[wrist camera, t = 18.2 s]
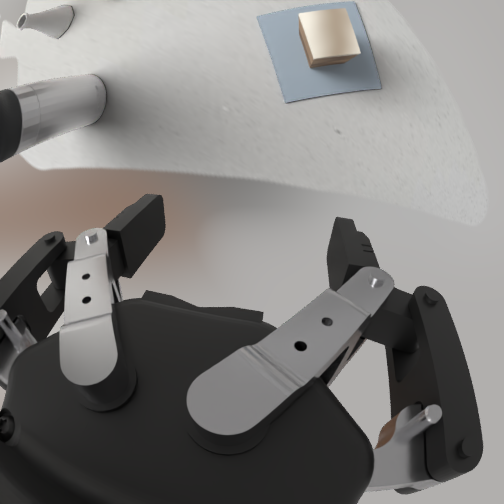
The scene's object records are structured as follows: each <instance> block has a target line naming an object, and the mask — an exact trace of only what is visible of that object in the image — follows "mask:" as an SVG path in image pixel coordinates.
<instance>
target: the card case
mask: <svg viewBox="0 0 504 504" xmlns="http://www.w3.org/2000/svg"><path fill="white" fill-rule="evenodd" d="M299 36H300V39H301V42H302V45H303V48H304V51H305V54H306V57H307V61H308V64H309V67H310V68H314V67H320V66H327V65H335V64H343V63H345V62H347V61H349V60H350V59H352V58H354V57H355V56H357V55H359V54H360V53H361V52H360V49H359V46H358V42H357V39H356V36H355V33H354V30H353V27H352V24H351V21H350V19H349V16H348V13H347V11H346V8H339V9H328V10H319V11H311V12H305V13H299Z"/></svg>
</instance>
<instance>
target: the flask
mask: <svg viewBox="0 0 504 504" xmlns="http://www.w3.org/2000/svg"><path fill="white" fill-rule="evenodd" d="M73 16H74V14H73V10H72V7H71V6H67V5H61V6H58V7H55V8H52V9H49V10H46V11H43V12H40V13H36V14H28V13H23V14H22V15H21V17H20V18H19V20H18V22H17V30H22V29H23V28H31V29H35V30H37V31H39V32H42V33H44V34H45V35H47V36H49V37H52V38H56V39H58V38H59V37H60V36H61V35H62V34H63V33H64V32H65V31H66V30H67V29H68V27H69V25H70V23H71V21H72V18H73Z"/></svg>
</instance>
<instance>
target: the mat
mask: <svg viewBox="0 0 504 504" xmlns="http://www.w3.org/2000/svg"><path fill="white" fill-rule="evenodd" d="M339 8H346V11H347V13H348V16H349V19H350V21H351V24H352V27H353V30H354V33H355V36H356V39H357V42H358V46H359V49H360V52H361V53H360V54H359V55H357V56H355V57H354V58H352V59H350V60H349V61H347V62H345V63H343V64H335V65H327V66H320V67H314V68H310V67H309V64H308V61H307V57H306V54H305V51H304V48H303V45H302V42H301V39H300V36H299V13H305V12H311V11H319V10H328V9H339ZM257 20H258V22H259V25H260V28H261V30H262V33H263V36H264V39H265V42H266V44H267V47H268V50H269V53H270V56H271V59H272V62H273V65H274V68H275V71H276V75H277V78H278V81H279V84H280V88H281V91H282V94H283V97H284V101H285V103H287V102H292V101H297V100H302V99H307V98H312V97H318V96H324V95H330V94H337V93H344V92H351V91H360V90H369V89H381V83H380V79H379V75H378V71H377V68H376V64H375V60H374V57H373V53H372V50H371V47H370V44H369V40H368V37H367V34H366V31H365V28H364V26H363V23H362V20H361V17H360V15H359V12H358V9H357V7H356V4H355V2H354V1H352V2H338V3H327V4H319V5H311V6H304V7H298V8H293V9H287V10H282V11H278V12H273V13H269V14H265V15H261V16H257Z"/></svg>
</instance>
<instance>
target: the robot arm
mask: <svg viewBox="0 0 504 504" xmlns="http://www.w3.org/2000/svg"><path fill="white" fill-rule="evenodd" d="M105 103H106V90H105V87H104V84H103V82H102V81H101V80H100V78H99V77H97V76H95V75H92V74H88V75H78V76H69V77H62V78H55V79H49V80H44V81H39V82H34V83H29V84H24V85H21V86H17V87H13V88H9V89H5V90H2V91H0V162H3V161H4V160H6V159H8V158H10V157H12V156H14V155H16V154H18V153H20V152H22V151H24V150H27V149H29V148H31V147H33V146H35V145H37V144H40V143H42V142H44V141H47V140H49V139H52V138H54V137H57V136H59V135H62V134H65V133H67V132H70V131H73V130H76V129H79V128H82V127H85V126H88V125H90V124H93V123H94V122H96V121H97V120H98V119H99V117H100V116H101V114H102V113H103V110H104V108H105ZM164 233H165V215H164V204H163V198H162V196H161V195H153V194H146V195H144V196H143V197H142V198H140V199H139V200H138V201H137V202H136V203H134V204H132V205H130V206H128V207H127V208H125V209H124V210H123V211H122V212H121V213H120V214H118V215H117V217H116V218H114V219H113V220H112V221H111V222H109V223H108V224H107V225H106V226H105V227H104V228H103V229H102V228H93V229H89V230H86V231H84V232H83V233H81V234H80V235H79V236H78V237H77V239H76V241H72V242H65V239H64V236H63V233H62V232H58V231H57V232H51V233H48V234H46V235H45V236H43V237H42V238H41V239H39V240H38V241H37V242H36V243H35V244H34V245H33V246H32V247H31V248H30V249H29V250H28V251H27V252H26V253H25V254H24V255H23V256H22V257H21V258H20V259H19V260H18V261H17V262H16V263H15V264H14V265H13V267H11V269H10V270H9V271H8V272H7V273H6V274H5V275H4V276H3V277H2V278H1V279H0V386H1V387H2V388H3V389H5V390H6V394H5V399H4V402H3V406H2V409H1V411H0V504H357V503H358V501H359V499H360V497H361V496H362V495H363V493H364V492H367V491H381V490H390V489H394V490H395V491H397V492H398V493H400V494H411V493H414V492H417V491H421V490H424V489H427V488H429V487H433V486H435V485H438V484H441V483H443V482H446V481H448V480H451V479H453V478H456V477H458V476H460V475H463V474H465V473H467V472H469V471H471V470H473V469H474V468H475V467H476V466H477V464H478V463H479V461H480V459H481V457H482V453H483V440H482V432H481V426H480V419H479V414H478V408H477V403H476V399H475V393H474V389H473V385H472V381H471V377H470V373H469V369H468V366H467V362H466V359H465V355H464V352H463V349H462V346H461V342H460V340H459V337H458V334H457V331H456V328H455V325H454V322H453V320H452V317H451V314H450V312H449V309H448V307H447V304H446V302H445V300H444V298H443V296H442V295H441V294H440V293H438V292H437V291H436V290H434V289H433V288H430V287H427V286H419V287H417V288H416V289H415V291H414V293H413V295H412V294H409V293H407V292H404V291H401V290H399V289H397V288H395V287H394V280H393V278H392V277H391V276H390V275H389V274H388V273H387V272H385V271H384V270H382V269H380V267H379V264H378V262H377V259H376V256H375V253H374V251H373V248H372V246H371V243H370V240H369V238H368V237H367V236H366V235H365V234H364V233H363V232H359V231H357V230H356V227H355V224H354V221H353V220H352V219H346V218H340V217H336V219H335V222H334V226H333V230H332V234H331V238H330V242H329V246H328V251H327V266H328V274H329V275H328V276H329V286H330V288H329V289H326V290H325V291H324V292H323V293H321V294H320V295H319V296H318V297H317V298H316V299H314V300H313V301H312V302H311V303H309V304H308V305H307V306H306V307H304V308H303V309H302V310H300V311H299V312H298V313H297V314H296V315H294V316H293V317H292V318H291V319H289V320H288V321H286V322H285V323H284V324H283V325H281V326H280V327H279V328H276V327H274V326H272V325H270V324H268V323H266V322H263V321H262V320H263V312H260V311H254V310H247V309H241V308H235V307H197V306H195V305H192V304H190V303H188V302H185V301H183V300H181V299H178V298H176V297H174V296H171V295H166V294H162V293H157V292H152V291H148V290H146V292H145V293H144V295H143V297H142V298H136V299H128V300H124V301H123V298H122V293H121V286H120V282H119V277H120V276H122V277H127V278H132V276H133V275H134V274H135V272H136V271H137V269H138V268H139V267H140V266H141V264H142V263H143V262H144V260H145V259H146V258H147V256H148V255H149V254H150V252H151V251H152V250H153V249H154V247H155V246H156V245H157V243H158V242H159V241H160V240H161V238H162V237H163V235H164ZM46 270H47V272H48V274H49V276H50V279H51V281H52V283H51V284H50V285H49V286H48V288H47V289H46V290H45V291H44V293H43V294H42V295H41V296H40V295H39V293H38V291H37V281H38V279H39V278H40V277H41V275H42V274H43V273H44V272H45V271H46ZM63 312H64V325H63V326H61V328H60V331H59V332H57V333H55V334H53V335H51V336H49V337H47V336H48V334H49V333H50V331H51V330H52V328H53V327H54V325H55V323H56V322H57V321H58V319H59V318H60V316H61V315H62V313H63ZM46 337H47V338H46ZM367 339H369V340H372V341H375V342H378V343H380V344H383V345H385V349H386V357H387V366H388V376H389V387H390V400H391V402H390V403H391V420H390V421H389V422H387V423H386V424H385V425H384V426H383V427H382V429H381V431H380V434H379V439H378V443H377V445H376V447H375V449H373V448H372V445H371V443H370V441H369V439H368V438H367V436H366V434H365V433H364V432H363V431H362V429H361V428H360V427H359V426H358V425H357V423H356V422H355V421H354V419H353V418H352V417H351V416H350V415H349V413H348V412H347V411H346V409H345V408H344V407H343V406H342V404H341V403H340V402H339V401H338V399H337V398H336V397H335V395H334V394H333V393H332V392H331V390H330V389H329V388H328V387H329V386H330V385H331V383H332V382H333V381H334V380H335V378H336V377H337V376H338V374H339V373H340V372H341V370H342V369H343V368H344V367H345V365H346V364H347V363H348V362H349V361H350V360H351V358H352V357H353V356H354V355H355V353H356V352H357V351H358V350H359V349H360V347H361V346H362V344H363V343H364V342H365V341H366V340H367Z"/></svg>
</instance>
